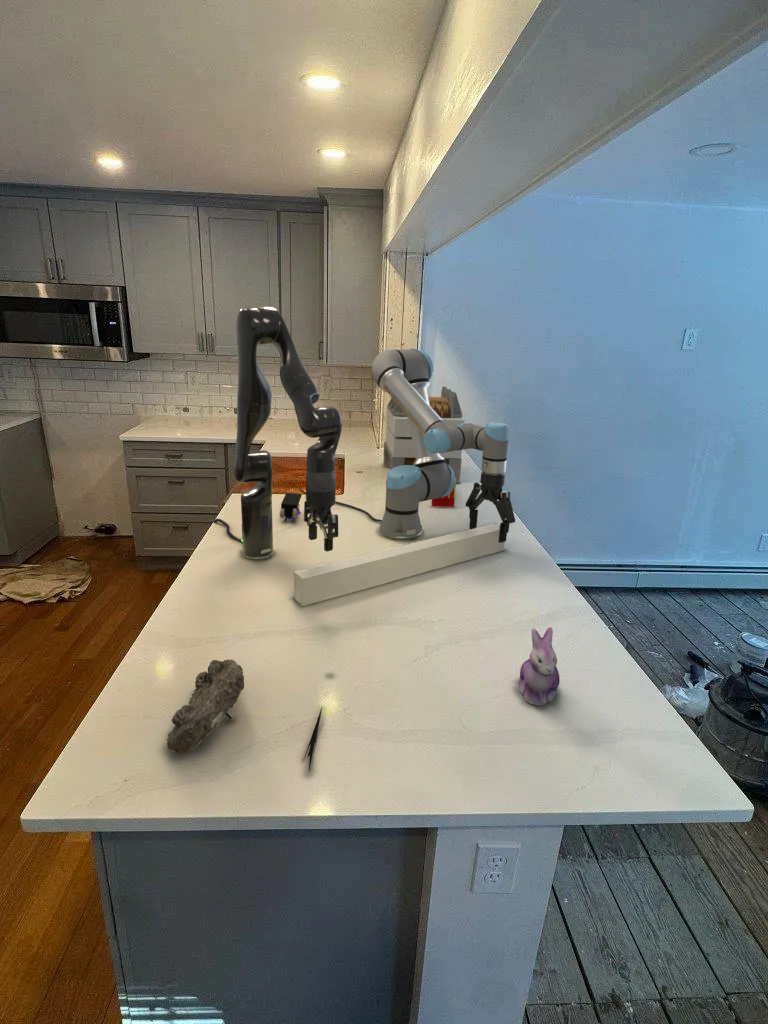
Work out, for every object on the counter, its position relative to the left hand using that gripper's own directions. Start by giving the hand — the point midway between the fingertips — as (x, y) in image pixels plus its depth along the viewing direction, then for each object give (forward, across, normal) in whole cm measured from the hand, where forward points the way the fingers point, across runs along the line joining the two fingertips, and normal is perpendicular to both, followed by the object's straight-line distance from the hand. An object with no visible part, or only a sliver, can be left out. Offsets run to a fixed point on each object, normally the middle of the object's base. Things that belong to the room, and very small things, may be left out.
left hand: (320, 544), depth 149 cm
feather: (+15, +43, -24) cm, 51 cm away
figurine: (+15, +60, +19) cm, 65 cm away
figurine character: (+15, -59, +20) cm, 64 cm away
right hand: (+9, 0, +62) cm, 62 cm away
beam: (+15, 0, +31) cm, 34 cm away
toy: (+15, -53, +86) cm, 102 cm away
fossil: (+15, +32, -41) cm, 54 cm away
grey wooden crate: (+15, -85, +101) cm, 133 cm away
